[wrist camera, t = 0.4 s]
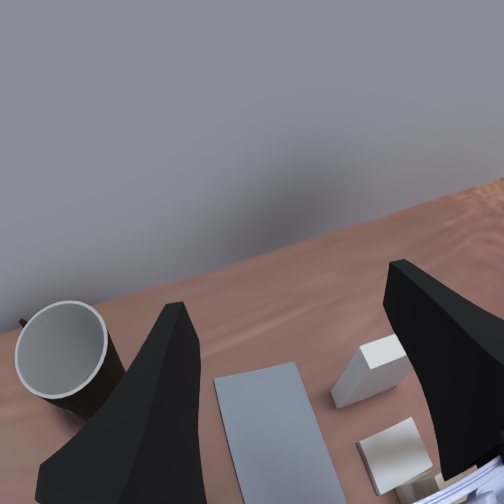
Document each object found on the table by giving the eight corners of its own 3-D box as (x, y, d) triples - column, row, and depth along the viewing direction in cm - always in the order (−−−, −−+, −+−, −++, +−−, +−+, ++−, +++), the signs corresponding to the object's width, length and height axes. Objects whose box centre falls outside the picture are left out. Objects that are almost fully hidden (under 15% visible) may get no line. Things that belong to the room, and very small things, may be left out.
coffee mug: (162, 406, 25) (128, 359, 18) (93, 451, 20) (33, 418, 13) (107, 327, 31) (73, 265, 24) (49, 363, 26) (1, 309, 19)
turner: (440, 497, 16) (486, 485, 11) (389, 528, 15) (430, 528, 10) (407, 419, 23) (444, 392, 19) (356, 442, 22) (387, 422, 17)
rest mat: (347, 508, 17) (349, 508, 17) (255, 536, 16) (255, 537, 15) (293, 364, 29) (294, 361, 28) (214, 380, 27) (213, 378, 27)
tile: (396, 385, 26) (438, 340, 20) (337, 409, 25) (370, 369, 19) (387, 369, 28) (426, 320, 22) (329, 390, 26) (358, 344, 20)
